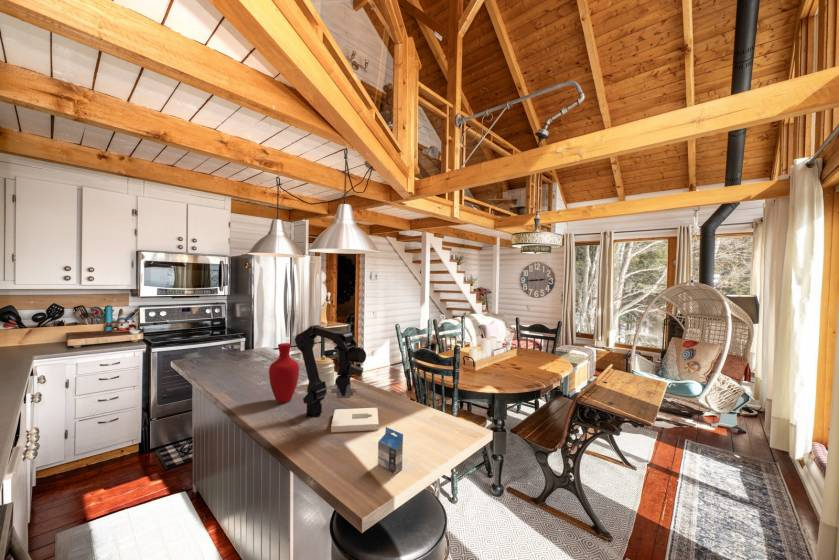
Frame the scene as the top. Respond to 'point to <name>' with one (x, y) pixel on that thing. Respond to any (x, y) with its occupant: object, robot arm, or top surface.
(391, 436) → the label tape cartridge
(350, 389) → the servo
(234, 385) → the top surface
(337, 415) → the cream flat slab
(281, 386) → the vase
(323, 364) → the jar
